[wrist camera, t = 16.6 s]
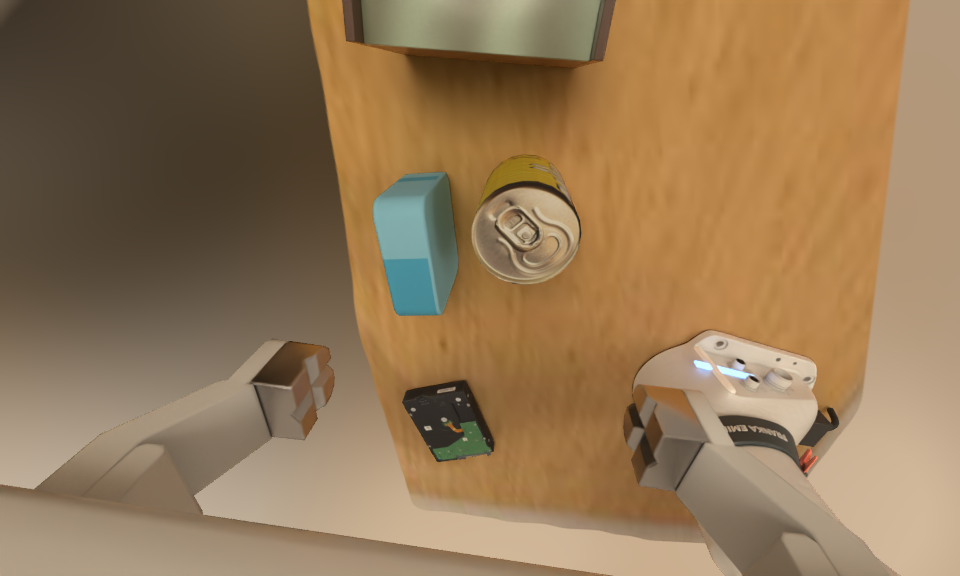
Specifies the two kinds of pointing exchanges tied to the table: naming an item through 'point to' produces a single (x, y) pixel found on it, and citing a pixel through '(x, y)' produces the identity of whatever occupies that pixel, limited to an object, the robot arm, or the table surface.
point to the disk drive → (449, 421)
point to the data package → (417, 242)
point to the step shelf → (485, 29)
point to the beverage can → (525, 222)
